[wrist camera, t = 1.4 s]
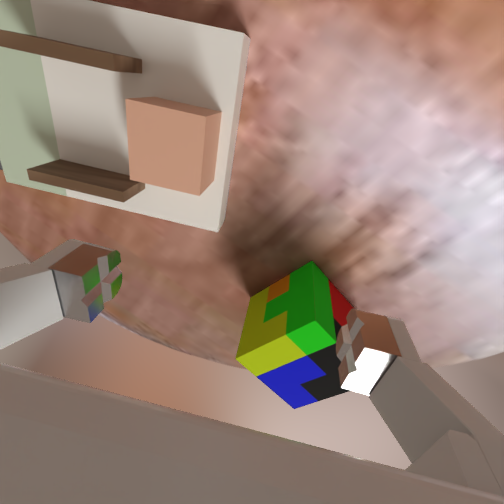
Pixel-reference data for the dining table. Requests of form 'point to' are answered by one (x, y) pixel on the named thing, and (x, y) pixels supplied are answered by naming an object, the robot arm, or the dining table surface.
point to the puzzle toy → (295, 336)
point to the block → (172, 144)
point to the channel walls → (66, 171)
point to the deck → (115, 97)
